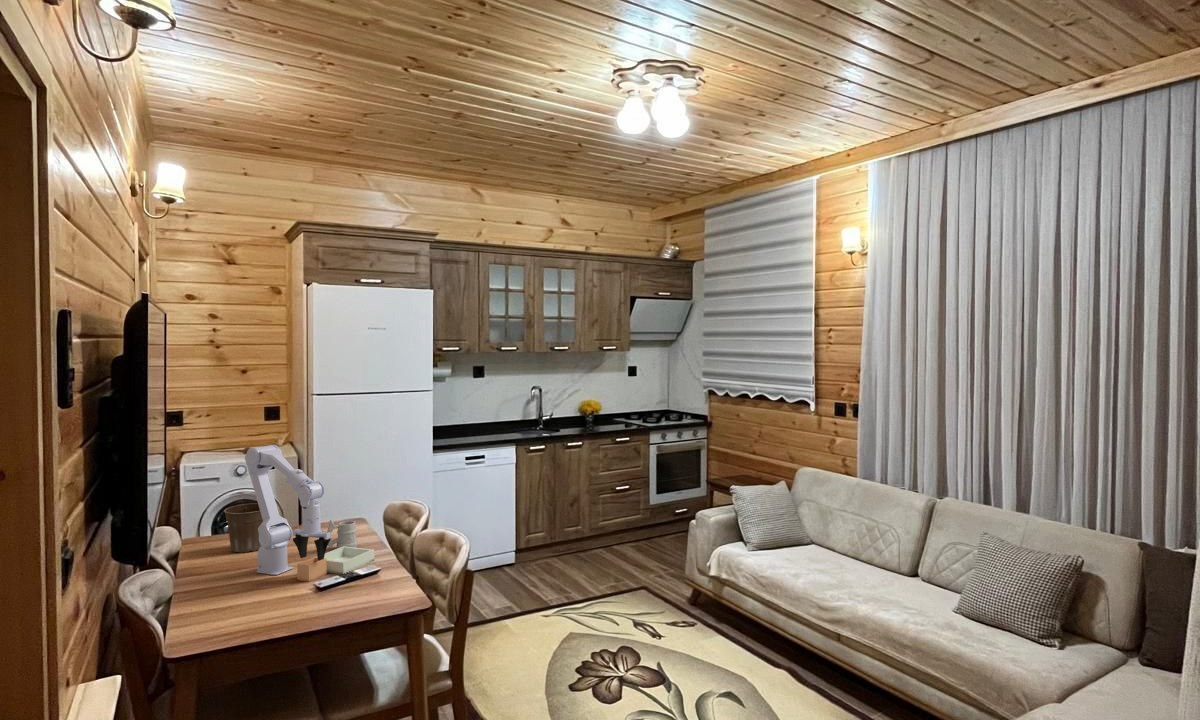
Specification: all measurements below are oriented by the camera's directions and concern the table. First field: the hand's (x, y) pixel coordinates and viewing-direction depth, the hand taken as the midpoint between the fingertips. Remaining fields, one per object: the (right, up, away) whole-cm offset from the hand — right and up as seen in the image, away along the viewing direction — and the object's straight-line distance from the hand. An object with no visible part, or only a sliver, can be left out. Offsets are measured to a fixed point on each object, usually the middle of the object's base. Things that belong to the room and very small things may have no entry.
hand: (312, 558), depth 230 cm
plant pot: (-40, -7, +34) cm, 53 cm away
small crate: (0, -7, 0) cm, 7 cm away
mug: (-3, -6, +33) cm, 34 cm away
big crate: (+6, -6, +13) cm, 15 cm away
